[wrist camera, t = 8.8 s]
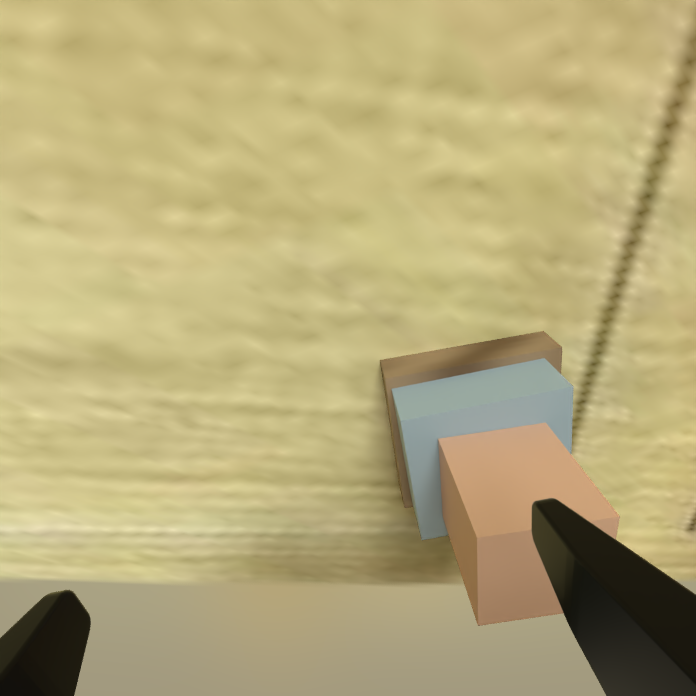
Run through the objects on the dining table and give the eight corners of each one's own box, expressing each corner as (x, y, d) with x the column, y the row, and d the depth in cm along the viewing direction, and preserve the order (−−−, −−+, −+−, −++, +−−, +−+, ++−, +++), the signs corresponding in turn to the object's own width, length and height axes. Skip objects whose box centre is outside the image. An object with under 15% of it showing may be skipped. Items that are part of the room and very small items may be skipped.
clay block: (545, 422, 18) (620, 516, 14) (539, 502, 20) (603, 607, 16) (438, 438, 18) (476, 537, 14) (442, 516, 20) (478, 625, 16)
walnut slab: (537, 325, 22) (562, 347, 20) (534, 451, 25) (555, 482, 23) (378, 353, 22) (384, 378, 20) (397, 475, 26) (404, 508, 23)
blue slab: (544, 358, 20) (573, 386, 18) (544, 475, 23) (569, 512, 21) (391, 388, 20) (400, 421, 18) (411, 500, 23) (421, 540, 21)
